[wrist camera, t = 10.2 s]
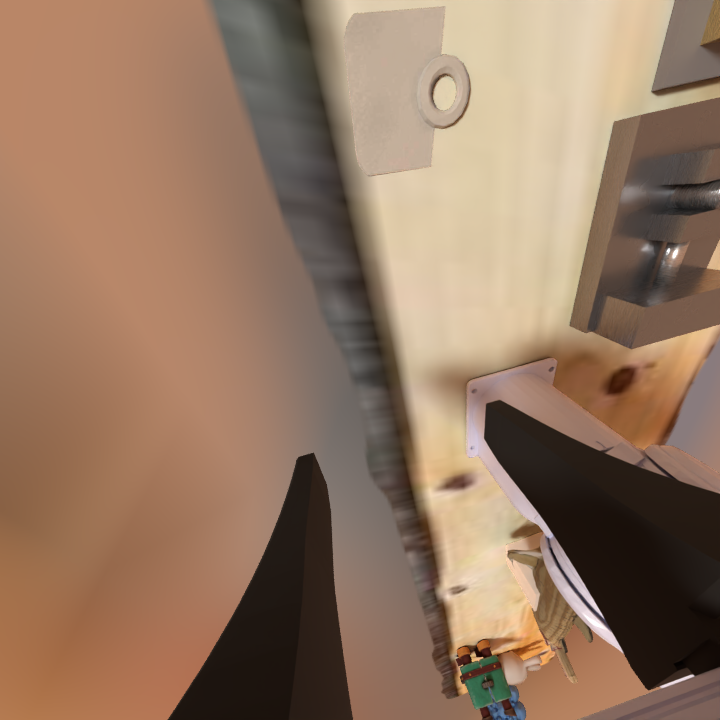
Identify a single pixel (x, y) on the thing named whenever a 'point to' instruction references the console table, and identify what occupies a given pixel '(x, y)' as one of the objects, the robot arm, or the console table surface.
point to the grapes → (519, 708)
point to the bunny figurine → (517, 667)
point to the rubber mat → (687, 47)
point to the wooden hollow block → (712, 25)
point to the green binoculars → (478, 683)
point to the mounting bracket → (399, 86)
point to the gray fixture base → (655, 230)
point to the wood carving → (544, 598)
